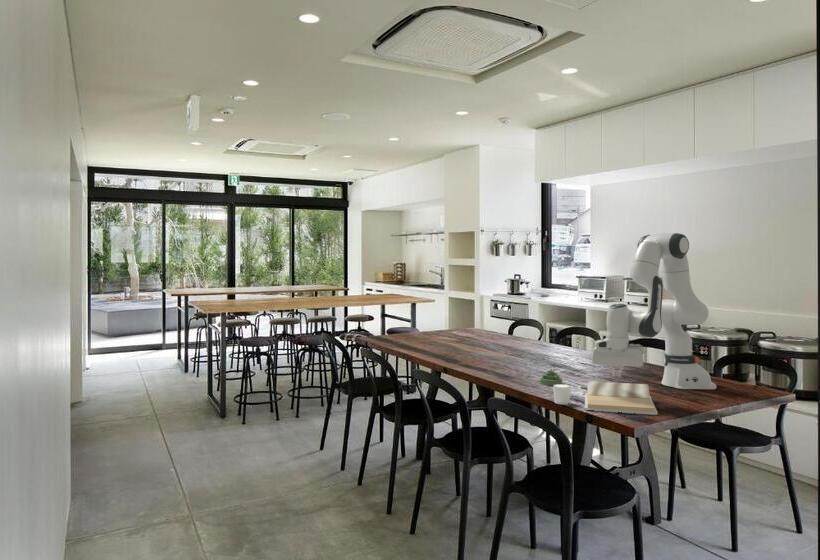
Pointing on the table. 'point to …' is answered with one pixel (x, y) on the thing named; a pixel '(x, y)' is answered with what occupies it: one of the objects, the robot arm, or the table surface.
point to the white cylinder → (561, 393)
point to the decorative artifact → (550, 378)
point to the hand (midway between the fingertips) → (616, 376)
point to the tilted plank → (618, 389)
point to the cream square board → (620, 404)
